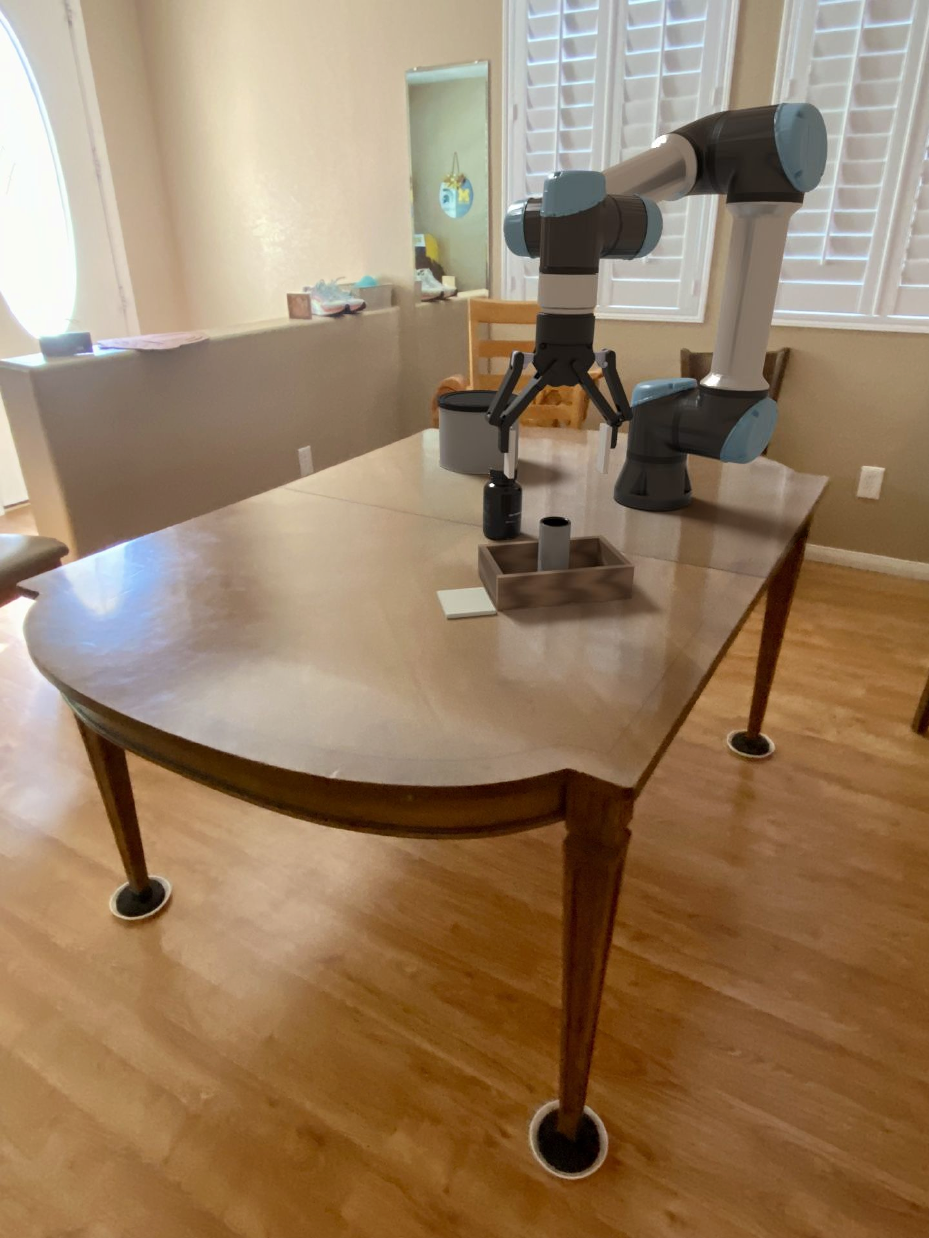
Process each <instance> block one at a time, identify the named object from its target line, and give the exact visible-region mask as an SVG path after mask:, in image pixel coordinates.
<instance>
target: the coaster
mask: <svg viewBox="0 0 929 1238" xmlns="http://www.w3.org/2000/svg"><path fill="white" fill-rule="evenodd" d="M436 596H437V598H438V601H439V604H440V605H441V606H440V607H441V608H442V612H443V613H444V616H445V619H454V618H455V619H457V618H466V617H477V616H478V617H479V616H487V615H489V616H490V615H496V613H497V609H496V607H495V605H494V603H493V601H492V599H491V598H490V596H489V594H488V592H487V590H486V588H485V587H484V586H480V587H479V586H478V587H468V588H455V589H443V590H436Z"/></svg>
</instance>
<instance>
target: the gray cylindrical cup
mask: <svg viewBox="0 0 929 1238" xmlns="http://www.w3.org/2000/svg"><path fill="white" fill-rule="evenodd" d="M538 527H539V528H538V533H539V534H538V540H539V549H538V572H541V571H553V570H565V569H568V565H569V549H570V538H571V531H572V529H571V528H572V522H571V520H570V519H569V518H566V517H563V516H556V515H553V516H545V517H543V518H541V519H540V520H539V526H538Z"/></svg>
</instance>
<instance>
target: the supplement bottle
mask: <svg viewBox="0 0 929 1238" xmlns="http://www.w3.org/2000/svg"><path fill="white" fill-rule="evenodd" d="M518 471H519V469H518V466H517V467H516V466H514V478H510V479H509V478H508V477H507V476H506V475H505V474H504V464H497V465H493V466H491V467H490V474H488V477H489V479H490V480H488V481H487V482H486V483H485V484H484V486H483V492H482V494H483V495H482V534H483V535H484V536H485V537H487V538H490V539H494V540H503V541H504V540H512V539H516V538H517V537H519V536H520V534H521V533H522V530H521V529H522V516H523V515H522V514H523V513H522V512H523V511H522V510H523V490H524V489H523V486H522V484H521V483H520V482H518V481H517V480H518V479H519V478H518V477H519V476H518V474H519V473H518Z"/></svg>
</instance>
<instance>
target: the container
mask: <svg viewBox="0 0 929 1238" xmlns="http://www.w3.org/2000/svg"><path fill="white" fill-rule="evenodd" d="M497 391H498V390H494V389H493V390H491V389H490V390H489V389H488V390H487V389H467V390H457V391H450V392H447V393H446V392H445V393H443V394H440V395H439V396H437V398H436V405H437V407H438V432H439V433H438V436H439V437H438V438H439V443H438V444H439V447H438V448H439V460H438V464H439V466H440V467H441V468H443V469H444V470H447V471H449V472H454V473H460V474H468V475H469V474H470V475H487V474H488V475H489V473H490V467H491V466H493V465H497V464H504V455H505V453H501V452H500V451H499V449H498V427H496V426H492V425H490V424H489V423H488V422H487V421H486V420H485V415H486V413H487V411H488V409H489V407H490V405H491V403H492V401H493V399H494V397H495V395H496V393H497ZM518 395H519V394H515V393H513V392H512V394H511V396H510V398H509V400H508V402H507V404H506V406H505V408H504V410H503V412H502V414H503V413H504V412H505V411H506V410H507V408H508V407H509V406H510V405H511V403H512V402H513V401H514V400H515V399H516V397H517V396H518ZM502 414H501V416H502ZM501 416H500V417H501ZM511 427H512V428H513V429H515V430H516V439H515V465H514V466H517V465H518V466H519V463H520V461H519V432H520V431H519V430H520V416H519V417H518V419H517V420H516V421H515V422H514V423H513V425H512V426H511ZM518 466H517V467H518Z"/></svg>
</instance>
